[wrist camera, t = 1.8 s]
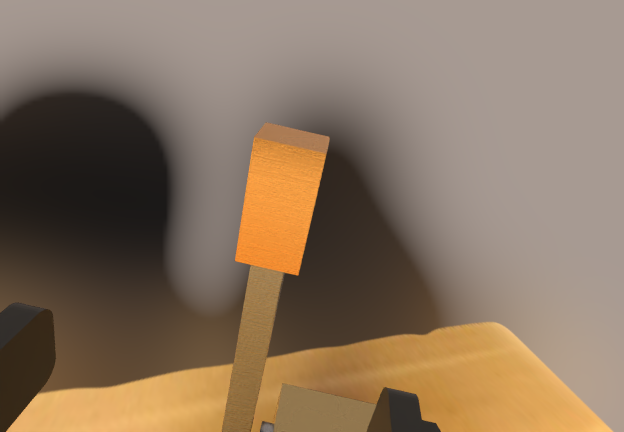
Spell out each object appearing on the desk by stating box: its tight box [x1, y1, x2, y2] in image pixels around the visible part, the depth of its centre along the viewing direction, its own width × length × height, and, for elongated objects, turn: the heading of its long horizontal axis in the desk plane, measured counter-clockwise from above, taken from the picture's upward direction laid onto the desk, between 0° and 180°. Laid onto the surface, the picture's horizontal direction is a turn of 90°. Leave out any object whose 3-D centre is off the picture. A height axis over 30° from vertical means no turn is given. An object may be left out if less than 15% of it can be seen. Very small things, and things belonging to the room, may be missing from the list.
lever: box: [222, 123, 330, 432], centre depth 24 cm, size 3×3×22 cm
